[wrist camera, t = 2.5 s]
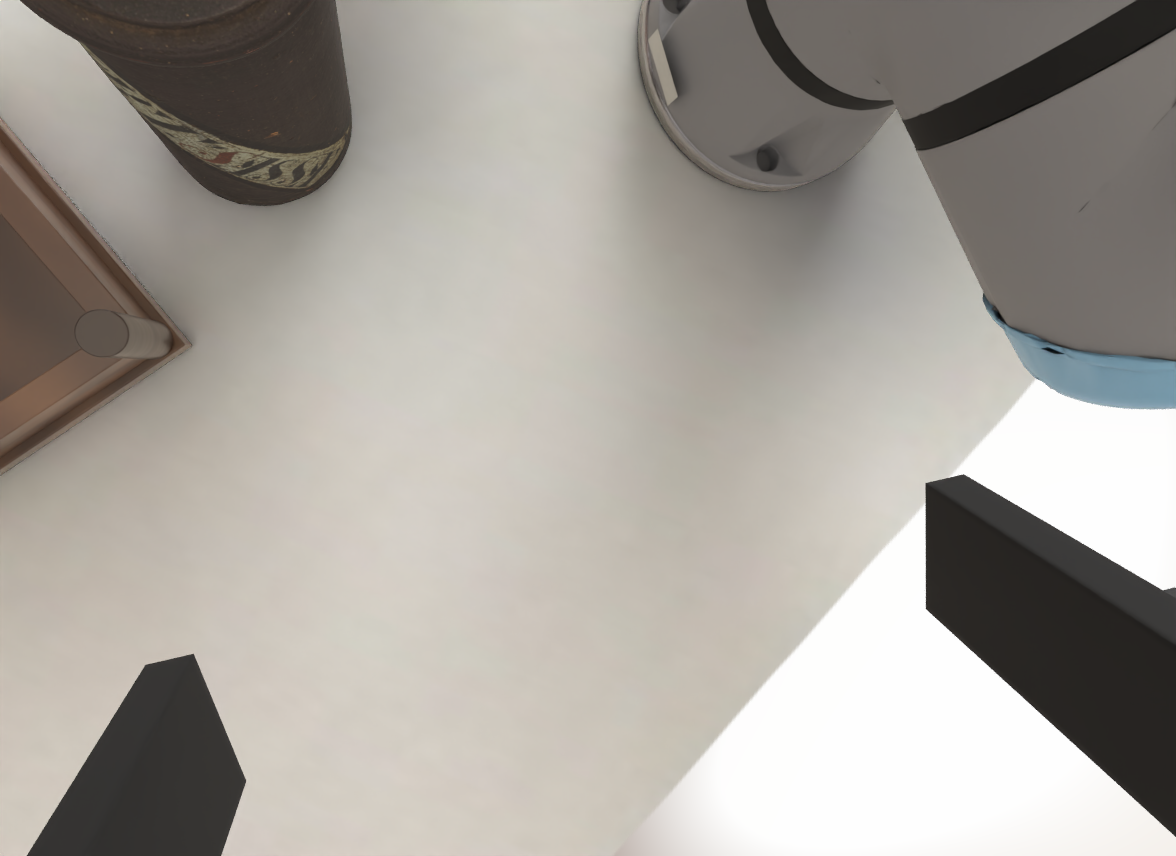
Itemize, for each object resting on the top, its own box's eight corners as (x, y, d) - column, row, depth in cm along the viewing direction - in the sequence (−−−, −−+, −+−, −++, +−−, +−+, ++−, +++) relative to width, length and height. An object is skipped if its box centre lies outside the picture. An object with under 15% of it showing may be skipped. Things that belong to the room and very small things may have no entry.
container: (128, 158, 34) (-177, -106, 15) (209, -16, 35) (10, -486, 16) (311, 244, 37) (247, 110, 18) (385, 81, 37) (400, -222, 18)
